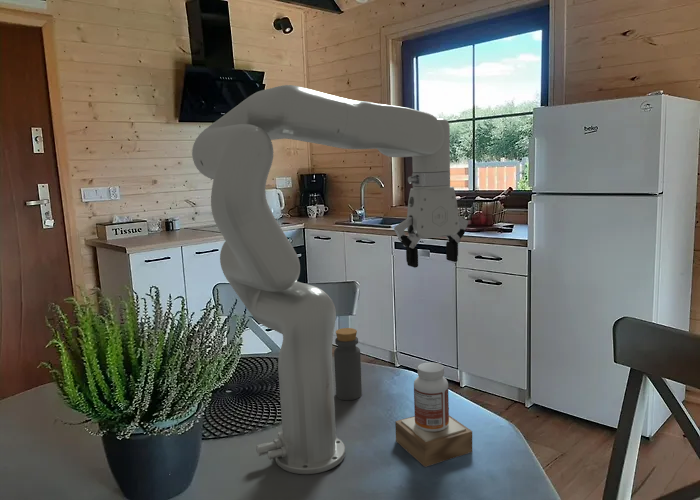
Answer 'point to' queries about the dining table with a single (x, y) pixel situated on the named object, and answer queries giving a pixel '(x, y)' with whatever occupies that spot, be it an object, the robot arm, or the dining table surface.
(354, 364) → the bottle
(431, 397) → the pill bottle
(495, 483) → the dining table surface
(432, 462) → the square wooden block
